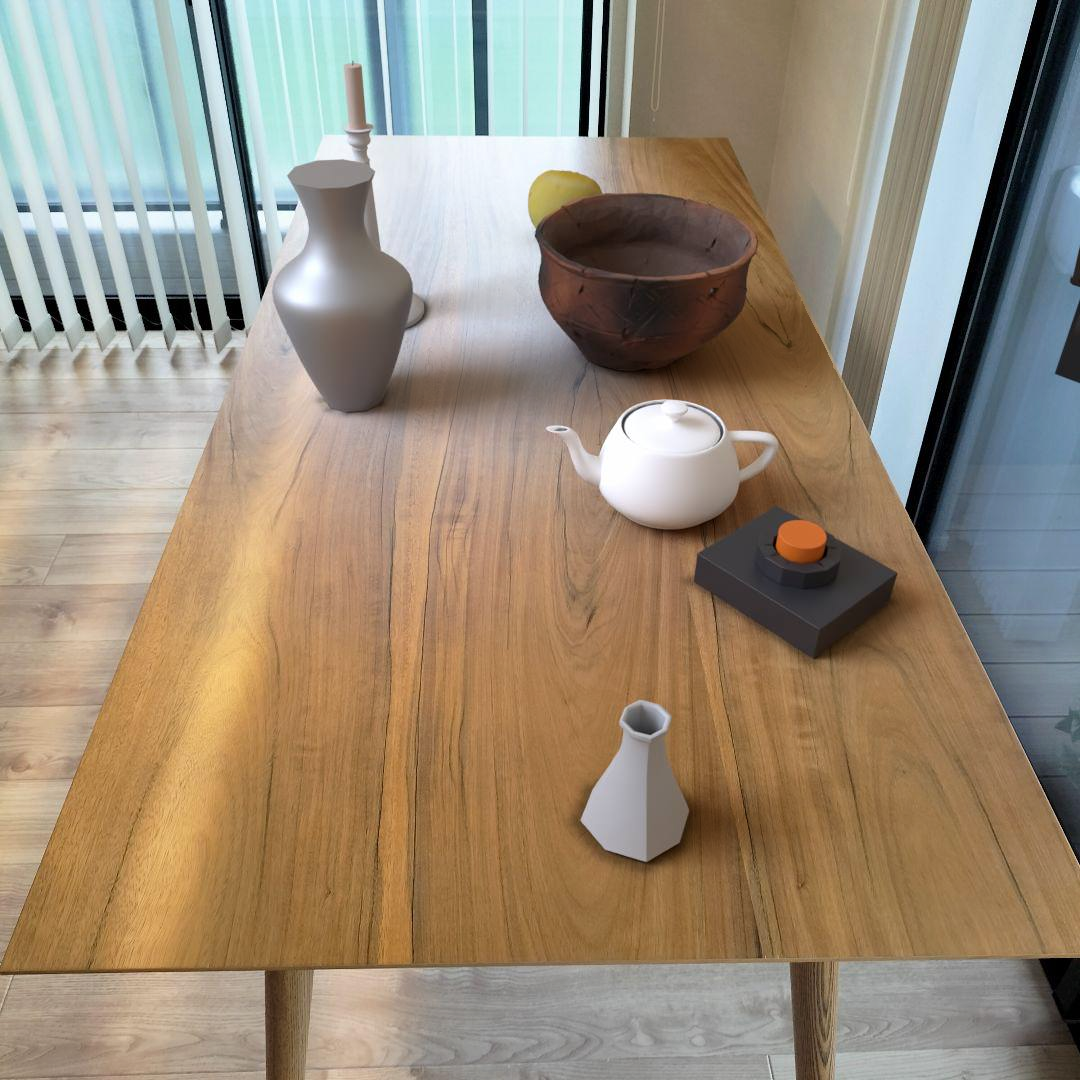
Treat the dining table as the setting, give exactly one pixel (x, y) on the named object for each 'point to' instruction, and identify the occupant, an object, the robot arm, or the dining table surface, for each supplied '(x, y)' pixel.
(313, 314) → the vase
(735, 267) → the bowl
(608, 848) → the flask
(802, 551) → the power button
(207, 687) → the dining table surface
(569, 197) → the fruit
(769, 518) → the button box
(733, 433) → the teapot
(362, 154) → the candlestick
